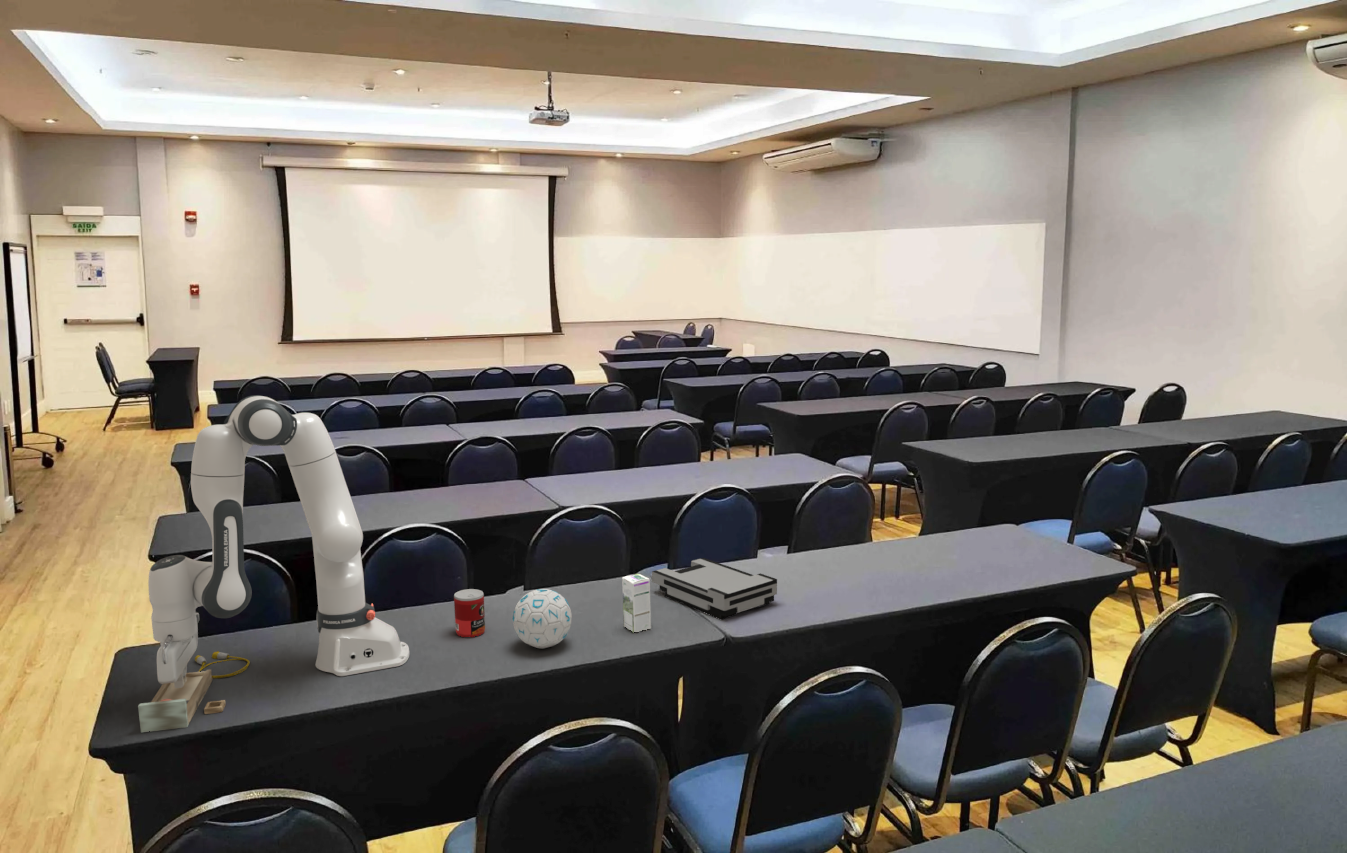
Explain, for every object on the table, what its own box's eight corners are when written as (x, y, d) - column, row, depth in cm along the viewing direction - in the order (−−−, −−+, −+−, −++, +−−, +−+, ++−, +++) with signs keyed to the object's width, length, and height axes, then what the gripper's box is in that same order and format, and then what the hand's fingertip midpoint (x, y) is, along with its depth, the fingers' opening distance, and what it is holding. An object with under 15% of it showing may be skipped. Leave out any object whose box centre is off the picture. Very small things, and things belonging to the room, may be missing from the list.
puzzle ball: (576, 653, 238) (574, 597, 235) (516, 660, 234) (514, 603, 232) (567, 631, 252) (566, 578, 250) (511, 637, 249) (509, 583, 246)
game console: (703, 579, 295) (703, 554, 294) (776, 606, 271) (777, 579, 270) (652, 593, 282) (651, 567, 281) (724, 623, 258) (724, 595, 257)
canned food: (476, 639, 247) (474, 599, 246) (449, 636, 250) (448, 596, 248) (490, 629, 255) (489, 590, 253) (465, 625, 257) (463, 587, 255)
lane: (212, 681, 224) (210, 657, 223) (187, 727, 201) (184, 700, 200) (170, 685, 221) (168, 661, 220) (140, 732, 199) (138, 706, 198)
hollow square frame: (225, 704, 211) (225, 699, 211) (222, 712, 208) (221, 707, 207) (208, 706, 210) (207, 701, 210) (204, 714, 207) (204, 709, 207)
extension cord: (247, 651, 242) (247, 644, 241) (251, 674, 228) (250, 667, 228) (195, 660, 236) (194, 653, 236) (195, 685, 223) (194, 677, 222)
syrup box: (651, 629, 254) (651, 577, 251) (633, 634, 250) (632, 582, 248) (640, 622, 258) (639, 572, 256) (622, 627, 255) (621, 576, 252)
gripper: (178, 643, 202) (184, 703, 204) (200, 610, 222) (206, 665, 224) (146, 646, 201) (152, 707, 203) (171, 613, 220) (177, 668, 222)
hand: (180, 685), depth 214 cm, fingers closed
